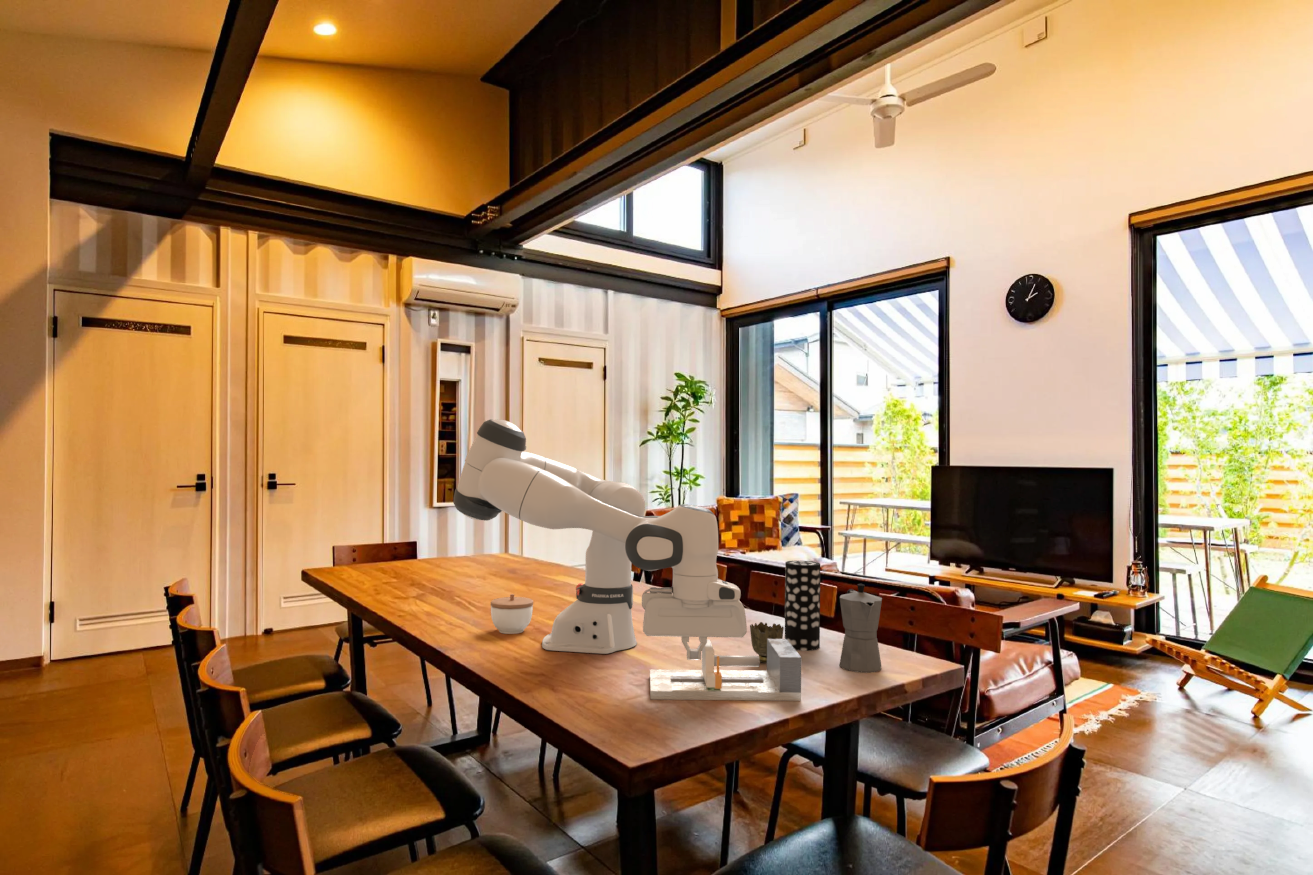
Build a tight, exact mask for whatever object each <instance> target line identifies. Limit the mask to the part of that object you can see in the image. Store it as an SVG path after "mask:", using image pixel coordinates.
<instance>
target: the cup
mask: <svg viewBox="0 0 1313 875" xmlns="http://www.w3.org/2000/svg"><path fill="white" fill-rule="evenodd" d="M749 630H750V639H751V640H750V641H751V646H752V650H753V651H754V652H755V654H756V655H757V656H759V660H760V663H762V664H767V639H784V631H785V626H784V625H781V624H780V623H778V624H776V623H772V626H771V625H768V623H767V622H765V623H764V622H762V621H760V622H759V623H758V624H757V622H755V623H754V624H753V623H751V624H750V625H749Z"/></svg>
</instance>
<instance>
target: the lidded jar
mask: <svg viewBox="0 0 1313 875" xmlns="http://www.w3.org/2000/svg"><path fill="white" fill-rule="evenodd" d="M533 607H534V600H533V599H532V598H529V597H525V596H522V597H521V596H515V594H514V593H510V594H509V596H506V597H505V596H504V597H499V598H494V599H492V600H491V601H490V615H491V621H492V624H493V626H494V627H495V628H496V629H497V630H498V631H499V633H501V634H504V635H515V634H517V635H518V634H520V633H524V631H525V629H526V628H527V627H528V626H529V624H530V623H531V621H532V617H533Z"/></svg>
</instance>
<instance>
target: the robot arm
mask: <svg viewBox="0 0 1313 875" xmlns="http://www.w3.org/2000/svg"><path fill="white" fill-rule="evenodd" d="M476 434H477V435H476V436H475V438H474V441H473V442H472V444H471V446H470V448H469V450H468V452H467V455H466V457H465V458H464V465H463V467H462V470H461V474H460V477H459V481H458V484H457V488H455V490H454V495H453V505H454V507H455V509H456V510H457V512H460V513H461V514H463V516H465V517H466V518H468V519H472V520H476V521H487V522H488V521H490V520H493V519H494V518H496V517H497V516H498V515H499V514H500V513H502V512H504V513H505V514H508V515H509V516H511V517H513V518H516V519H517V520H521V521H522V522H524V523H527V524H530V525H533V526H536V527H539V528H545V529H549V530H563V529H564V530H565V529H582V530H583V529H584V530H589V531H592V533H591V537H590V541H589V545H588V547H587V548H586V551H585V568H584V569H585V570H584V571H585V575H584V576H585V578H584V580H585V581H584V583H583V582H582V583H581V582H579V583H577V585H576V587H575V590H576V591H575V592H576V594H575V598H576V600H574V602H572V603H571V604H570V605H568V606H567V607H566V608H564V609H563V610H562V611H561V612H560V613H558V614H557V615H556V616H555V618H554V620H553V624H552V628H551V632H550V633H549V634H547V635H545V636H544V637H543V638H542V642H541V646H542V649H545V651H557V652H558V651H559V652H574V653H587V654H589V653H590V654H603V655H605V654H606V655H607V654H611V653H614V652H618V651H623V650H627V649H631V648H633V647H635V646H636V645H637V644H638V643H637V638H636V635H635V630H634V624H633V614H632V612H633V611H632V608H633V606H634V586H633V584H632V565H633V566H634V567H635V568H638V569H639V570H640V569H641V570H643V571H648V572H649V571H650V572H653V571H657V570H662V569H667V568H668V569H669V568H672V586H671V587H654V586H652V587H651V586H650V587H649V589H646V590H645V591H644V592H643V593H642V594H641V607H642V608H643V609H644V613H643V620H642V621H643V622H642V632H643V634H644V635H645V636H647V637H672V638H673V637H674V638H675V637H678V638H679V637H680V638H681V643H682V645H683V647H684V649H685V650H686V660H688V661H690V660H691V661H694V660H695V661H699V660H700V661H702V650H703V648H704V647H705V645H706V643H707V640H708V638H744V637H745V635H746V634H747V630H748V628H747V616H746V610H745V607H744V605H743V603H742V602H741V601H740V599H741V596H742V594H741V589H740V588H739V586H737V585H736V584H734V583H731V582H728V581H725V580H722V579H720V578H718V577H719V571H718V566H717V558H718V557H717V556H718V553H719V528H718V527H719V526H718V521H717V517H716V515H715V514H714V512H712V511H711V510H710V509H709V508H707V507H704V506H703V507H702V506H700V505H695V504H689V503H683V504H678V505H677V506H676V507H675V508H674V509H671V511H669V512H666V513H665V514H662V515H649V516H645V511H646V502H645V501H646V500H645V499H644V497H643V495H642V493H641V492H640V491H639V490H637V488H636V487H634V486H632V485H631V484H629V483H627V482H623V481H622V482H621V481H611V480H607V479H606V480H605V479H603V478H600V477H597V476H594V475H591V474H589V473H587V472H585V471H582V470H580V469H577V468H576V467H573V466H571V465H568V464H565V463H563V462H560V461H557V460H554V459H551V458H548V457H546V456H543V455H540V454H536V453H533V452H529V451H526V450H527V446H526V445H527V438H526V435H525V433H524V431H523V430H521V429H520V428H519V426H517V425H516V424H515V423H513V422H511V421H508V420H505V419H488V420H485V421H484V422H483V423H482V424H481V425H480V426H479V429H477V431H476ZM691 637H692V638H698V640H699V642H700V643H699V644H698V646H697V648H690V646H689V644H688V643H689V642H690V638H691Z"/></svg>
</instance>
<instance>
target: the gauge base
mask: <svg viewBox="0 0 1313 875" xmlns="http://www.w3.org/2000/svg"><path fill="white" fill-rule="evenodd" d="M714 672H717V669H714ZM719 672H721V675H722V689H715V687H706V683H705V680H704V676H703V673H702V669H661V668H660V669H654V668H652V669H650V668H649V689H650V690H649V691H650V693H649V695H650V700H673V701H674V700H676V701H679V700H685V701H686V700H688V701H691V700H692V701H699V700H700V701H701V700H702V701H704V700H705V701H786V702H787V701H788V702H790V701H791V702H792V701H794V702H797V701H799V702H800V701H802V656H801V655H800V654H799V653H798V650H795V649H794V648H793V646H792V645H791V644H790V643H789V641H788V640H787V639H785V638H782V639H767V663H766V670H748V669H747V670H746V669H745V670H744V669H743V670H742V669H740V670H739V669H738V670H736V669H735V670H734V669H732V670H731V669H719Z"/></svg>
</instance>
